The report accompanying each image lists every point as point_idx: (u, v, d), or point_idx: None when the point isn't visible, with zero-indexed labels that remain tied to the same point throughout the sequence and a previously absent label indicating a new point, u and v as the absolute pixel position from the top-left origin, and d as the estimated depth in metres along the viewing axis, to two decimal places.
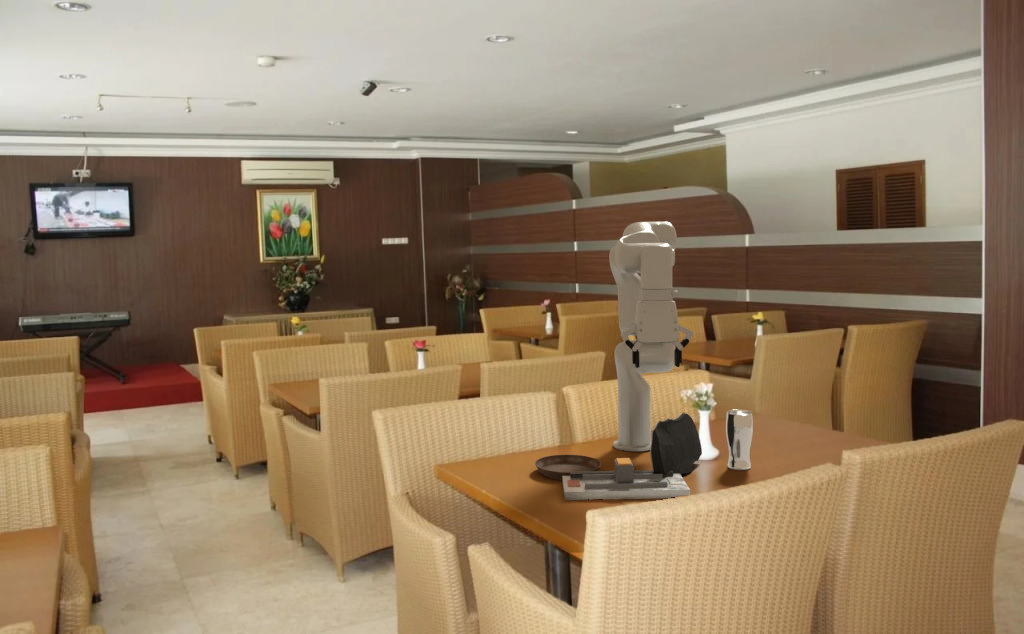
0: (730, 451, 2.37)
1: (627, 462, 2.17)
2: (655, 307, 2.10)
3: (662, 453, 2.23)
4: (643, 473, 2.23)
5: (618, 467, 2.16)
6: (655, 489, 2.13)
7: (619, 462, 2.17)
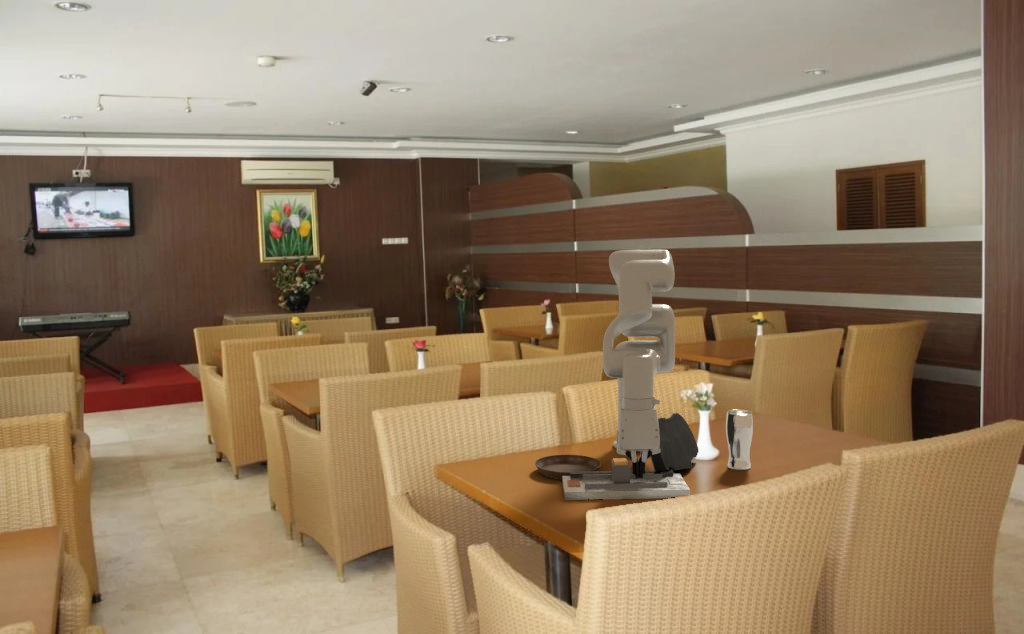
0: (730, 451, 2.37)
1: (623, 462, 2.17)
2: (636, 416, 2.15)
3: None
4: None
5: (614, 467, 2.16)
6: (655, 489, 2.13)
7: (615, 462, 2.17)
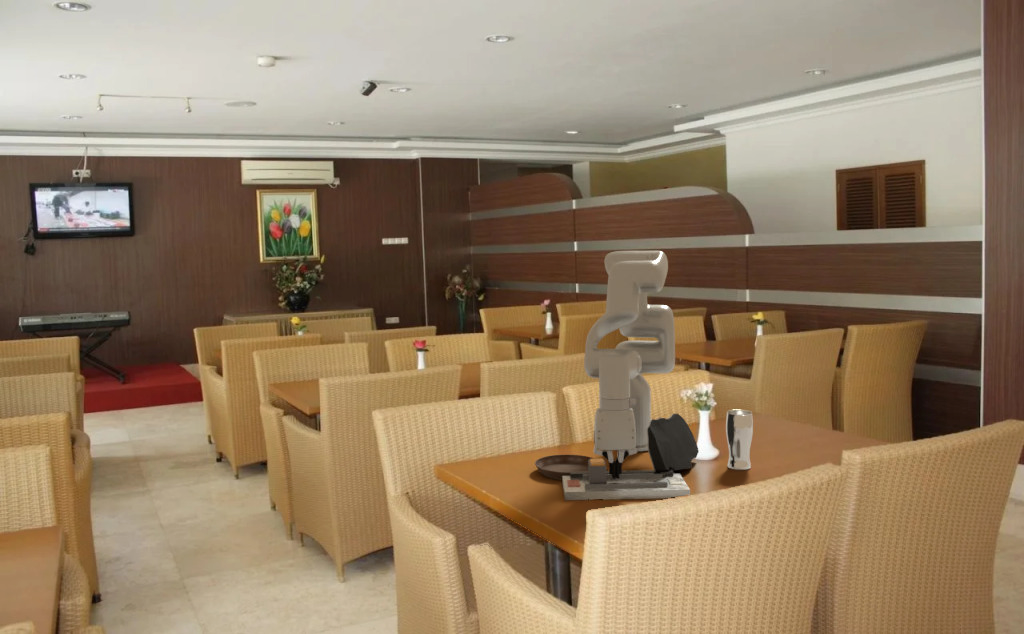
0: (730, 451, 2.37)
1: (600, 463, 2.17)
2: (612, 416, 2.15)
3: (659, 448, 2.24)
4: (643, 473, 2.23)
5: (591, 468, 2.16)
6: (655, 489, 2.13)
7: (592, 463, 2.17)
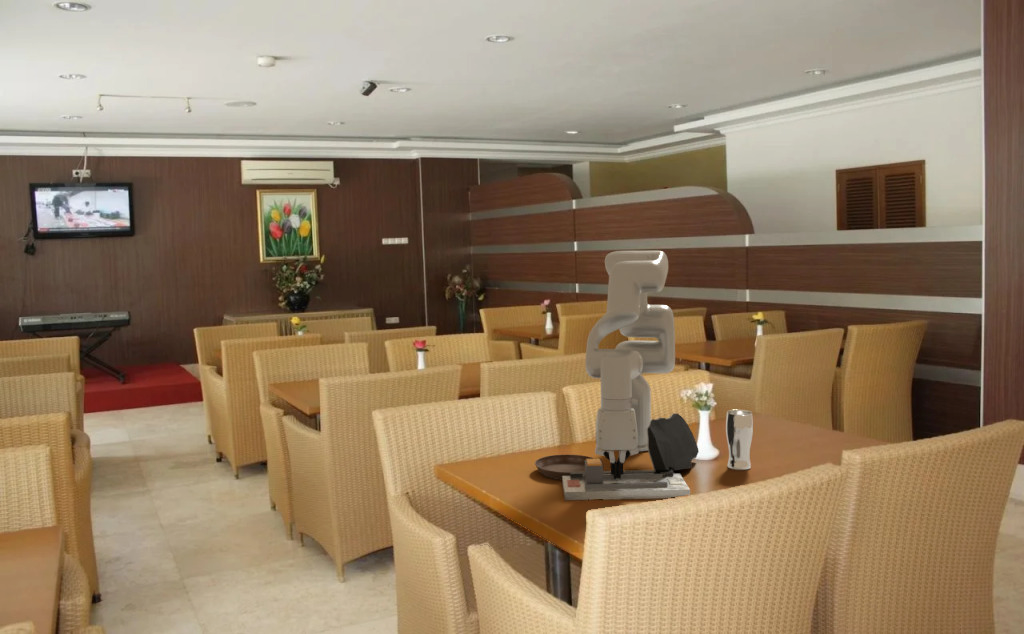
0: (730, 451, 2.37)
1: (596, 463, 2.17)
2: (614, 416, 2.15)
3: (659, 448, 2.24)
4: (643, 473, 2.23)
5: (587, 468, 2.16)
6: (655, 489, 2.13)
7: (589, 463, 2.17)
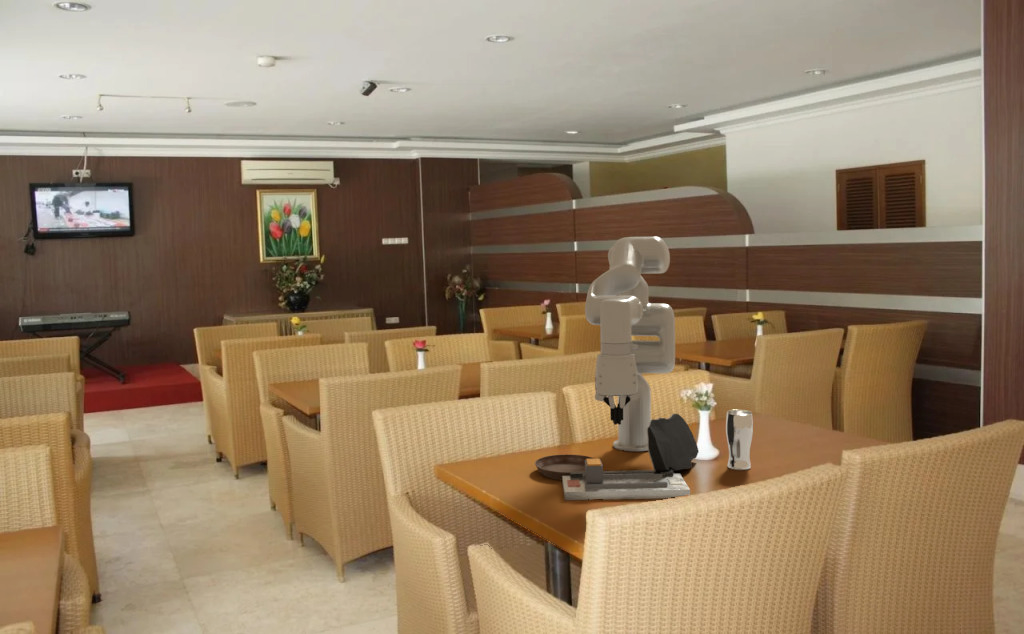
0: (730, 451, 2.37)
1: (596, 463, 2.17)
2: (614, 361, 2.14)
3: (659, 448, 2.24)
4: (643, 473, 2.23)
5: (587, 468, 2.16)
6: (655, 489, 2.13)
7: (589, 463, 2.17)
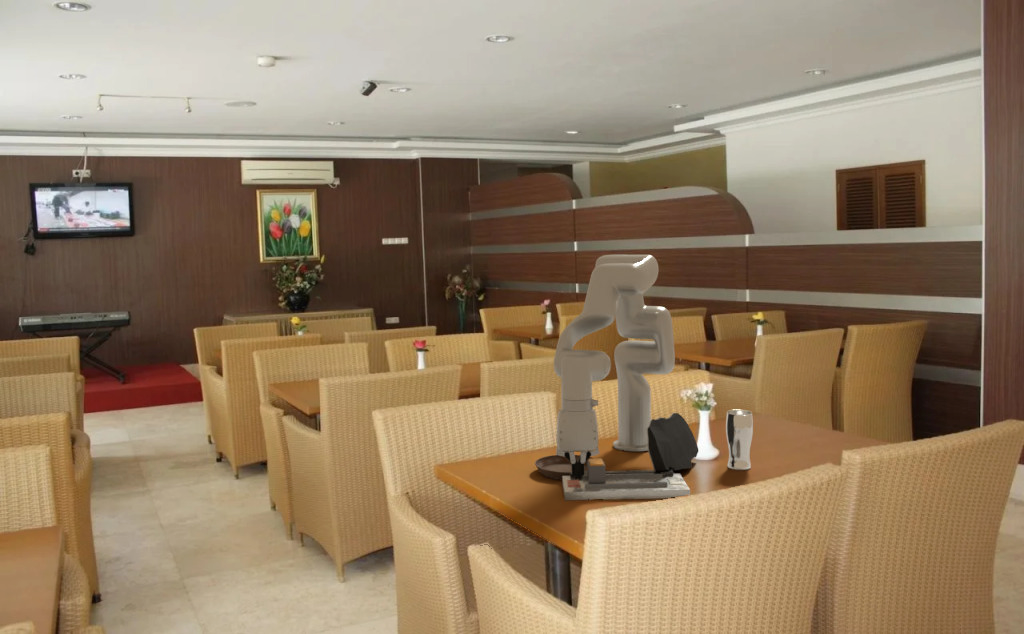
0: (730, 451, 2.37)
1: (599, 463, 2.17)
2: (574, 417, 2.15)
3: (659, 448, 2.24)
4: (643, 473, 2.23)
5: (590, 468, 2.16)
6: (655, 489, 2.13)
7: (591, 463, 2.17)
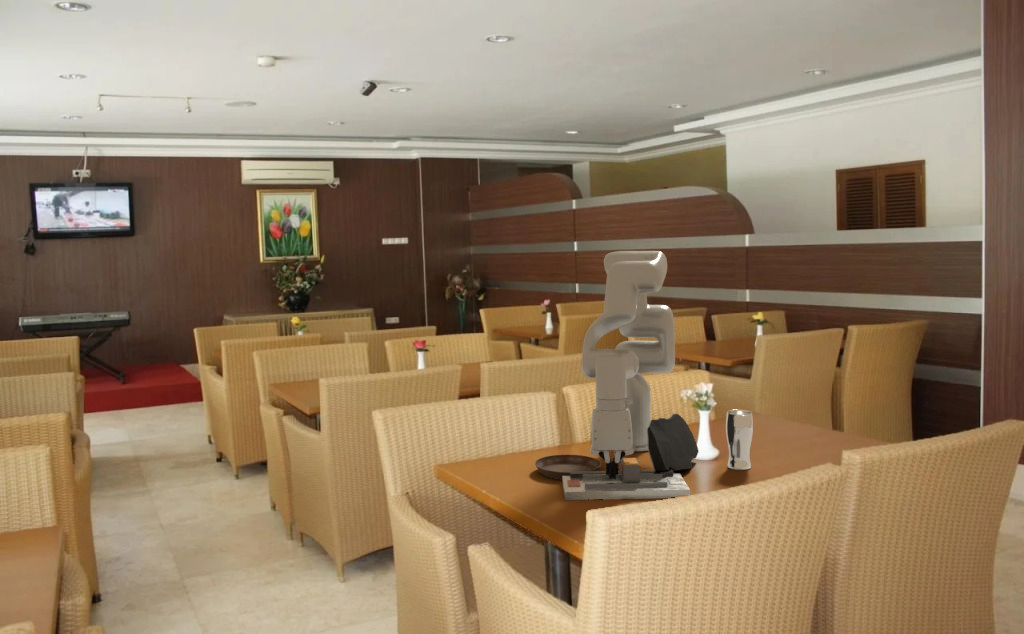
0: (730, 451, 2.37)
1: (633, 462, 2.17)
2: (609, 416, 2.15)
3: (659, 448, 2.24)
4: (643, 473, 2.23)
5: (624, 467, 2.16)
6: (655, 489, 2.13)
7: (625, 462, 2.17)
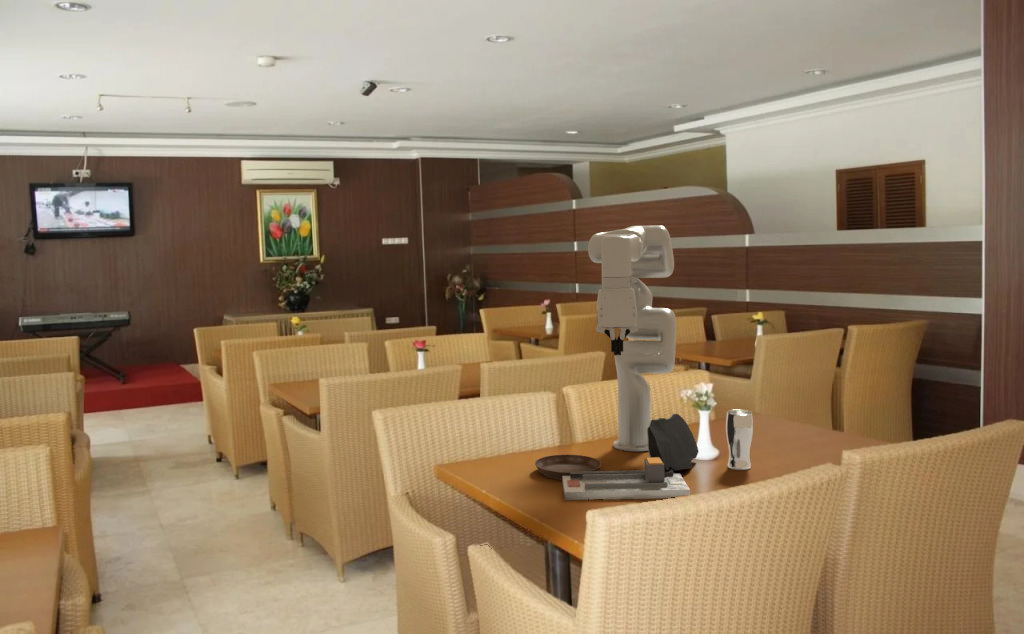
0: (730, 451, 2.37)
1: (658, 461, 2.17)
2: (614, 294, 2.25)
3: (659, 448, 2.24)
4: (643, 473, 2.23)
5: (649, 466, 2.16)
6: (655, 489, 2.13)
7: (650, 461, 2.17)
